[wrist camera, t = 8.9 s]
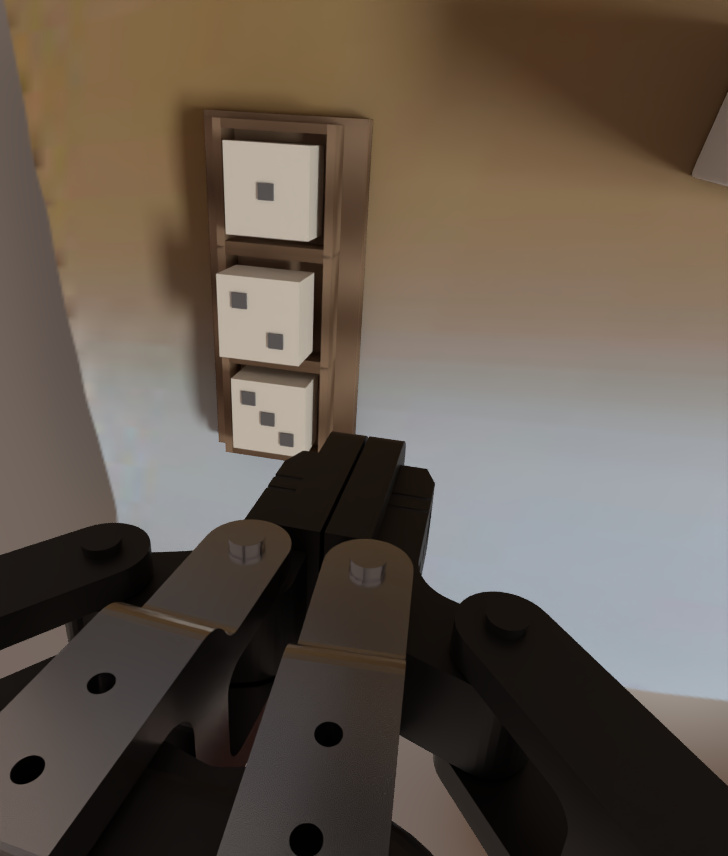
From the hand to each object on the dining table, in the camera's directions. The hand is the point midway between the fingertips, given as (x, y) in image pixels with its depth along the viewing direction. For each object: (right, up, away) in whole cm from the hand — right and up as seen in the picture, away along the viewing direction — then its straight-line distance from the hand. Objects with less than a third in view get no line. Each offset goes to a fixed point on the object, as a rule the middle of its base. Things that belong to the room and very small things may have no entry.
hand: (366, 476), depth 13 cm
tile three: (-6, +3, +31) cm, 32 cm away
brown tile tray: (-5, +10, +29) cm, 31 cm away
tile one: (-5, +15, +25) cm, 30 cm away
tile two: (-6, +8, +27) cm, 28 cm away
